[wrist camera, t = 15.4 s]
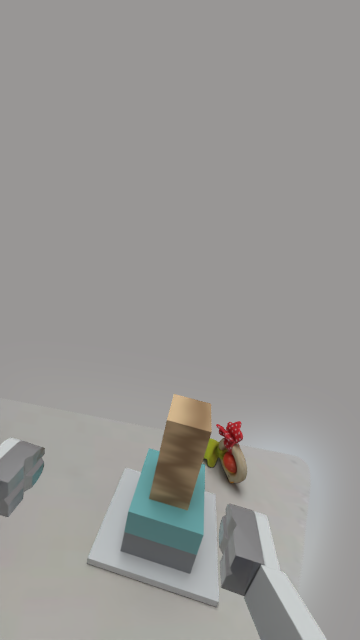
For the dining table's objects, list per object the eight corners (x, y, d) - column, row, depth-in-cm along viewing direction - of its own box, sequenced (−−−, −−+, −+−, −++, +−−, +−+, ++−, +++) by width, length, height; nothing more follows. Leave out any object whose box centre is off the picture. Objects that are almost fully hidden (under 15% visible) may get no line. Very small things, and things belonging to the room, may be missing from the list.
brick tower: (86, 563, 26) (93, 516, 24) (124, 471, 37) (131, 435, 35) (216, 607, 25) (235, 562, 22) (214, 498, 36) (226, 462, 34)
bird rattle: (240, 483, 42) (218, 436, 48) (275, 463, 36) (245, 412, 42) (215, 495, 39) (195, 443, 45) (249, 476, 33) (221, 418, 38)
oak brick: (148, 498, 27) (167, 420, 23) (157, 463, 31) (173, 394, 28) (187, 510, 26) (211, 432, 23) (190, 472, 31) (210, 403, 28)
